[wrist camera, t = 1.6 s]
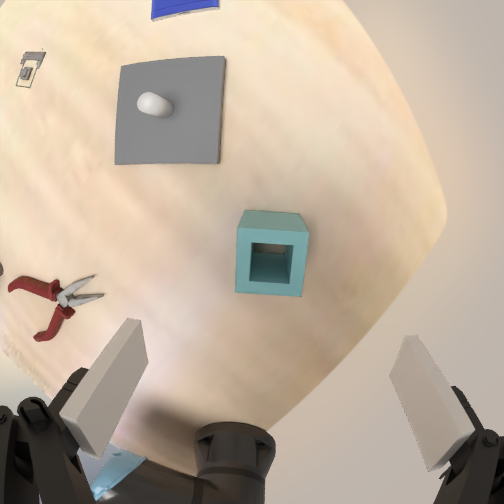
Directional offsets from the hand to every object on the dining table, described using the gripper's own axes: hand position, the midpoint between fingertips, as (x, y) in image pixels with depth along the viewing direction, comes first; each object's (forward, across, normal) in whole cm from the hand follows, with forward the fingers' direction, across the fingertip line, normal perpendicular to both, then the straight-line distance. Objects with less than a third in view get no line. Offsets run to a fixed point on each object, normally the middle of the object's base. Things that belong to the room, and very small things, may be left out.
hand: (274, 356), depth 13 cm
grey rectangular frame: (+21, +38, -28) cm, 52 cm away
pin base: (+21, +12, -14) cm, 28 cm away
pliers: (+21, +33, +14) cm, 42 cm away
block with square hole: (+21, 0, 0) cm, 21 cm away
